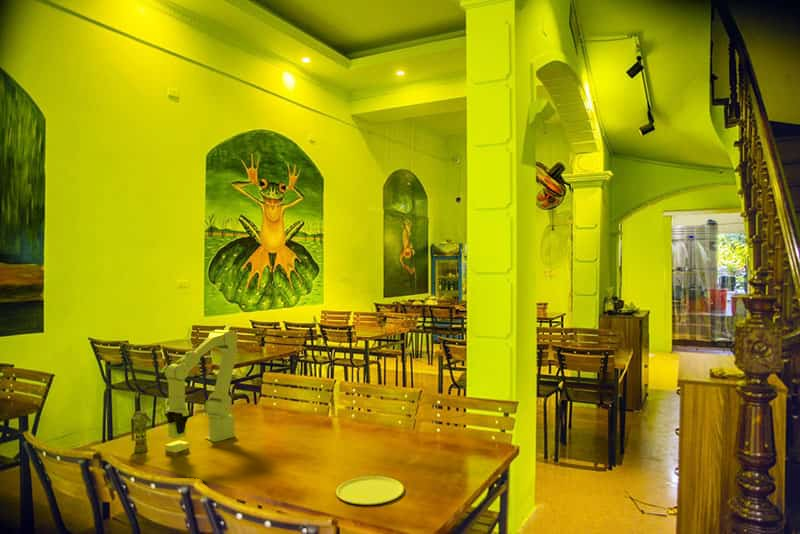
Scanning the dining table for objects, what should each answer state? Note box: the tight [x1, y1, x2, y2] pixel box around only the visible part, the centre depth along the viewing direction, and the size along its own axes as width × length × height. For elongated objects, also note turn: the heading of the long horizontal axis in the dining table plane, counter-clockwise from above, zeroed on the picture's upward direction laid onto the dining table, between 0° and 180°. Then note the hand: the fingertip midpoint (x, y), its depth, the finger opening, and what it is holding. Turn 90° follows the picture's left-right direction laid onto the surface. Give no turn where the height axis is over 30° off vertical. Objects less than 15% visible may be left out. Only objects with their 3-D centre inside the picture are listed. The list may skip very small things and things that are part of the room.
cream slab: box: [164, 440, 190, 453], centre depth 206 cm, size 6×6×2 cm
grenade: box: [130, 410, 152, 454], centre depth 209 cm, size 7×7×15 cm
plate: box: [335, 475, 405, 506], centre depth 166 cm, size 21×21×1 cm
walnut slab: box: [164, 447, 190, 457], centre depth 206 cm, size 6×6×2 cm
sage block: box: [167, 422, 187, 440], centre depth 206 cm, size 4×4×5 cm
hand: (177, 432), depth 206 cm, fingers closed on sage block, 4 cm apart
